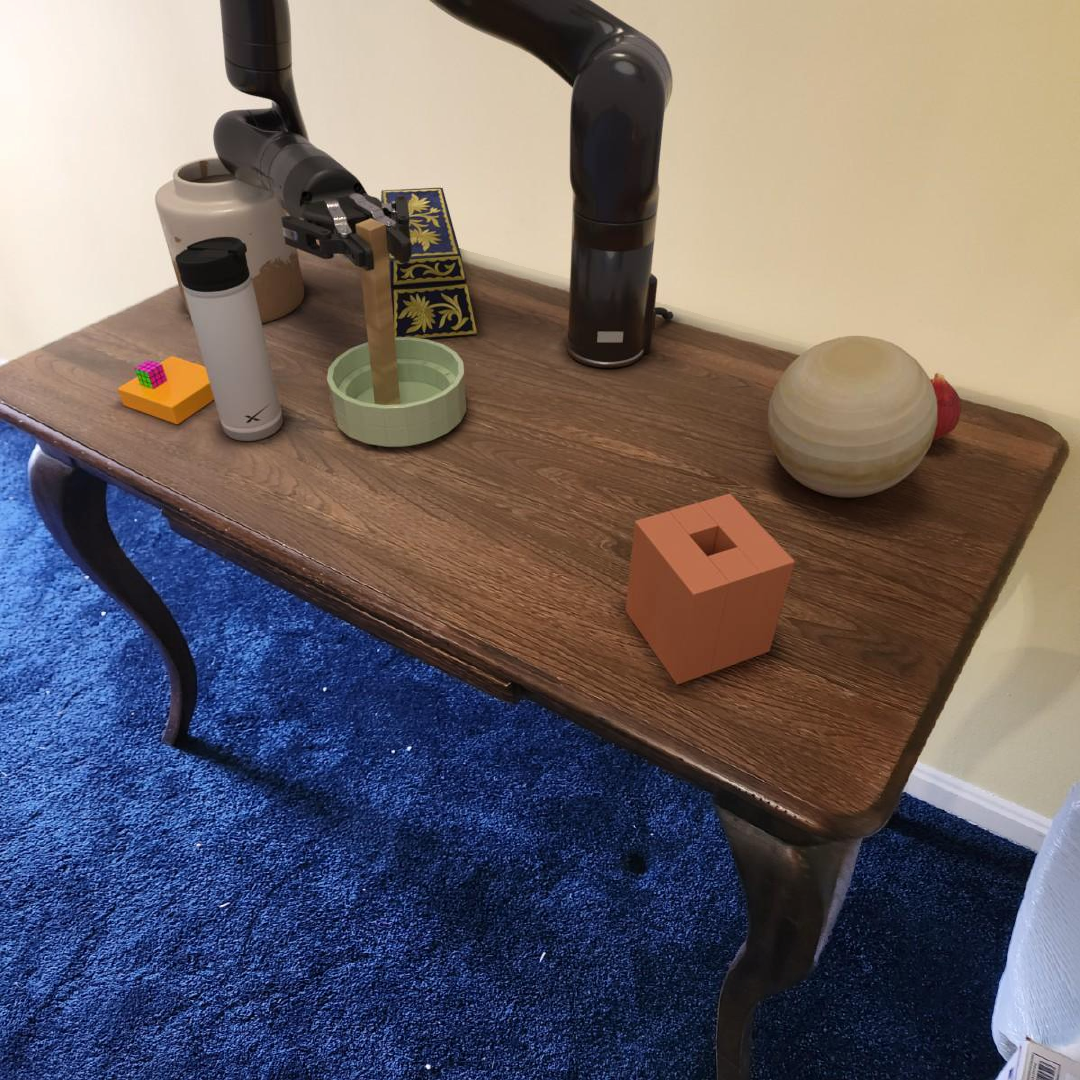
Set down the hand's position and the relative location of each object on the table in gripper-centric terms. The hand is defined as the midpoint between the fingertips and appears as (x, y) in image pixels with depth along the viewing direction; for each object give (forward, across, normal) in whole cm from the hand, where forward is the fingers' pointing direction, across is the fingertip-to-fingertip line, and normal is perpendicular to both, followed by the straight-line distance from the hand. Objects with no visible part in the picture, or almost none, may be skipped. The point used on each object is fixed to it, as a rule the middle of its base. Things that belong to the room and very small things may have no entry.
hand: (388, 256), depth 80 cm
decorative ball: (+32, +32, +17) cm, 48 cm away
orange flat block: (-18, -19, +20) cm, 33 cm away
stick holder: (+40, +7, +17) cm, 44 cm away
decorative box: (-28, +17, +20) cm, 38 cm away
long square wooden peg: (-3, 0, +18) cm, 18 cm away
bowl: (-1, +1, +19) cm, 19 cm away
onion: (+32, +45, +16) cm, 58 cm away
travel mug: (-8, -13, +20) cm, 25 cm away
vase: (-37, -5, +20) cm, 42 cm away
